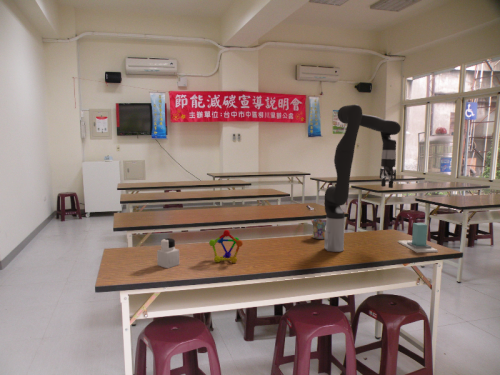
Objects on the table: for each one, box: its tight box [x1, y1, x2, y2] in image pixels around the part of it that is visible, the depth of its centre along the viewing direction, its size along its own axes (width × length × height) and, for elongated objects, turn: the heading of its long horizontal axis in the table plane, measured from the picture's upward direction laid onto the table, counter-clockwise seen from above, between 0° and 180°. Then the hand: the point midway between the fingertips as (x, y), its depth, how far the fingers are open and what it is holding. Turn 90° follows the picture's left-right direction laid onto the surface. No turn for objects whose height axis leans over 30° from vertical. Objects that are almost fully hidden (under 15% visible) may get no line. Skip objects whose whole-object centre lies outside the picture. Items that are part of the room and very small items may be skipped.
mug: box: [311, 218, 326, 240], centre depth 208 cm, size 12×9×11 cm
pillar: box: [411, 222, 428, 246], centre depth 186 cm, size 5×5×12 cm
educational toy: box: [208, 229, 244, 264], centre depth 166 cm, size 16×13×15 cm
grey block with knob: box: [156, 237, 180, 269], centre depth 158 cm, size 7×7×12 cm
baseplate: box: [397, 239, 439, 253], centre depth 188 cm, size 11×20×2 cm, turn 4°
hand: (386, 187), depth 196 cm, fingers open, 8 cm apart
